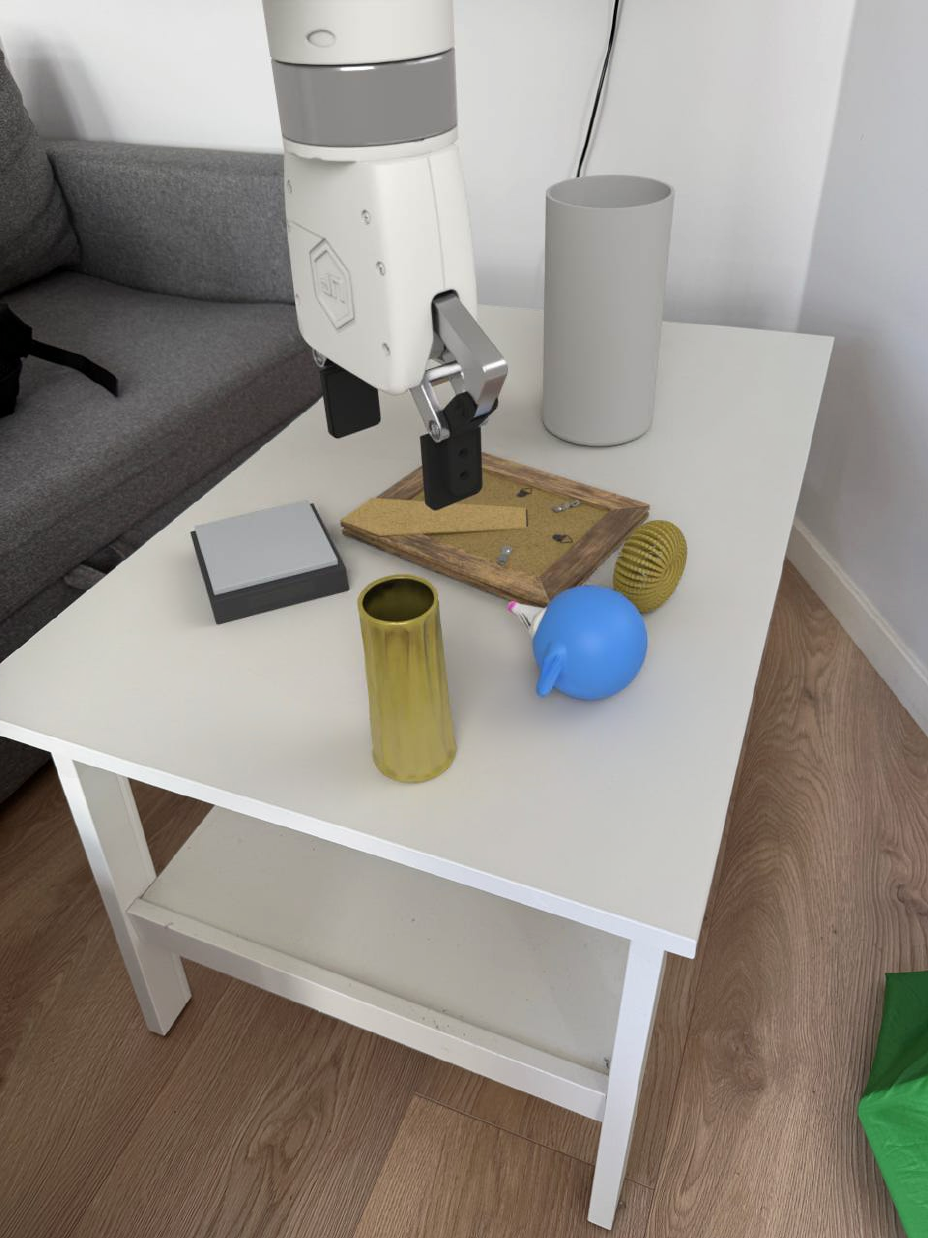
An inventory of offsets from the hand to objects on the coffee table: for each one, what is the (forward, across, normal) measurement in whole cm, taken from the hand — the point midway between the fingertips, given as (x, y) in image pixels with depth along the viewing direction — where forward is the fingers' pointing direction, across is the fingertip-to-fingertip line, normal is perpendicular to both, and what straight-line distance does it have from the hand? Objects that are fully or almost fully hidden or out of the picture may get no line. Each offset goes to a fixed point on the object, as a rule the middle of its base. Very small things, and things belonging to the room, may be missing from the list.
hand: (401, 462), depth 49 cm
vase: (+25, -2, 0) cm, 25 cm away
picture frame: (+25, -22, +23) cm, 41 cm away
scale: (+25, -30, +2) cm, 39 cm away
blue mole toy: (+25, -2, +15) cm, 29 cm away
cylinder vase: (+25, -32, +45) cm, 61 cm away
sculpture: (+25, -4, +26) cm, 36 cm away
